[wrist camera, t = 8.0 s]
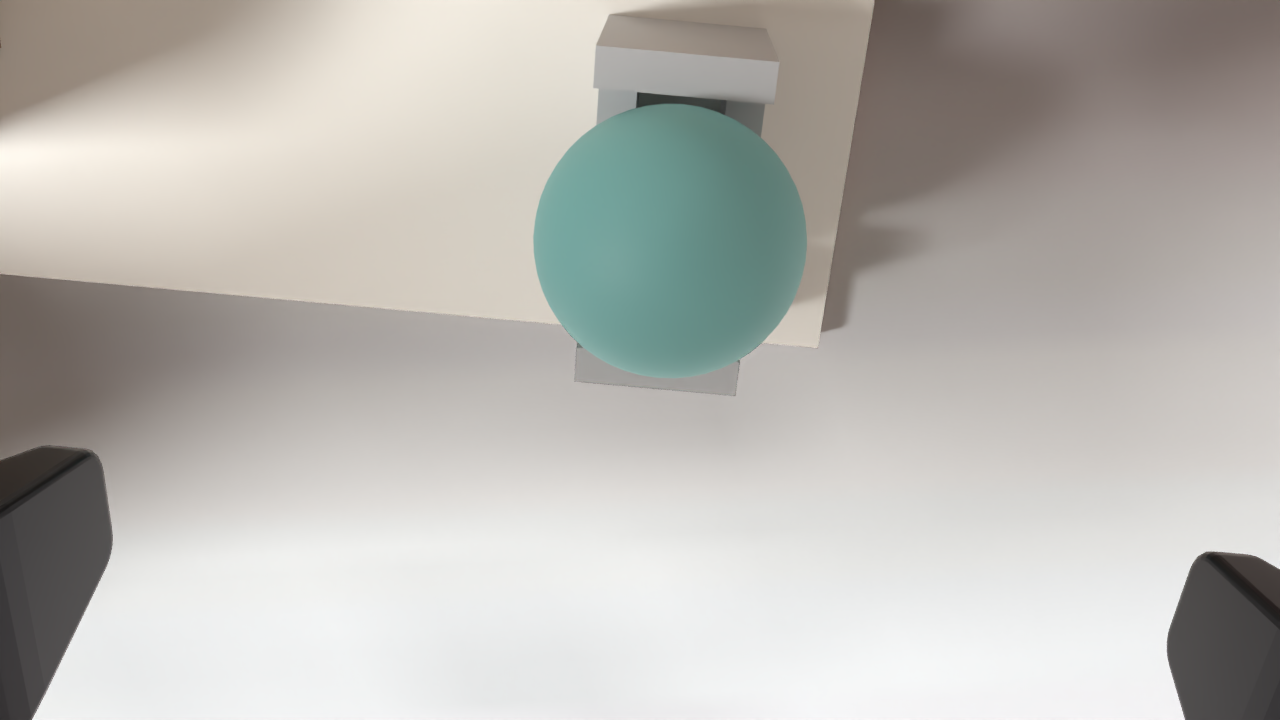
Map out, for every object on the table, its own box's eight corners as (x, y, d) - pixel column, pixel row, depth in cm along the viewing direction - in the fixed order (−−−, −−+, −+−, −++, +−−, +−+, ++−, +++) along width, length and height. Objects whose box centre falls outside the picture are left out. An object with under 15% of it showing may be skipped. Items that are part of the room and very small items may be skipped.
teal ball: (777, 325, 19) (797, 439, 16) (543, 304, 19) (510, 413, 16) (811, 90, 18) (843, 157, 14) (555, 67, 18) (521, 127, 14)
